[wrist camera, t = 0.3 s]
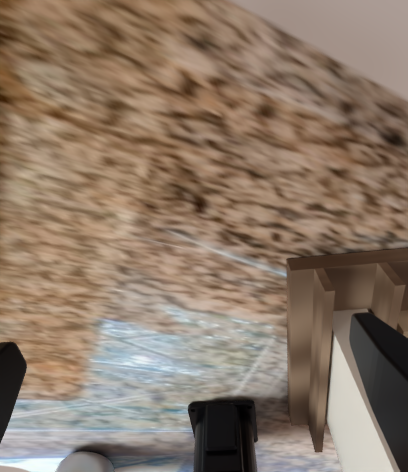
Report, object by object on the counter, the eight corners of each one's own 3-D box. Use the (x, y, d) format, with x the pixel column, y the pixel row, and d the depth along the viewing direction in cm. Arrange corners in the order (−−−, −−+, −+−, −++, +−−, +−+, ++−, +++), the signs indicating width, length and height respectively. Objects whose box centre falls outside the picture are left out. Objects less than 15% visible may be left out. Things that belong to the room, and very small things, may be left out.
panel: (354, 395, 29) (424, 564, 19) (319, 397, 29) (371, 564, 20) (366, 308, 24) (466, 475, 15) (324, 311, 25) (396, 478, 15)
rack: (430, 402, 32) (457, 446, 28) (288, 410, 33) (296, 453, 29) (482, 240, 23) (530, 274, 20) (286, 258, 24) (299, 293, 21)
